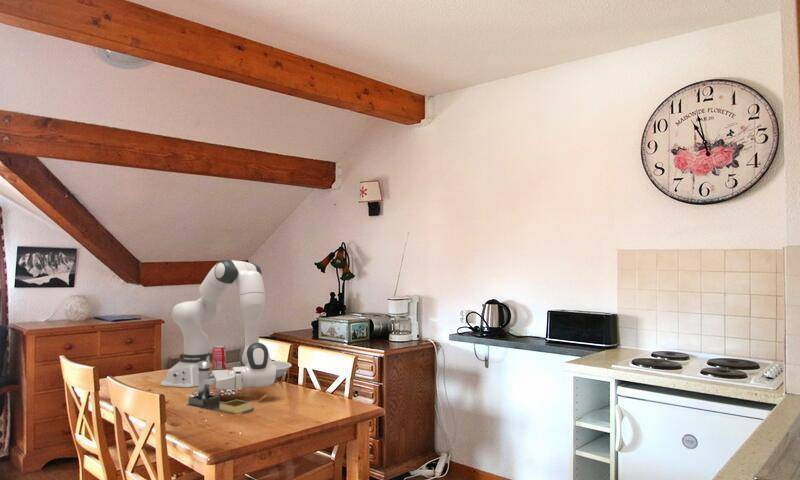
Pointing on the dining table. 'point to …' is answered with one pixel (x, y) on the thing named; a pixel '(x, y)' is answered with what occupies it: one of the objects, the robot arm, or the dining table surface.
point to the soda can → (219, 357)
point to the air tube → (203, 374)
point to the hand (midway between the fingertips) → (201, 380)
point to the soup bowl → (281, 367)
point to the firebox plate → (221, 405)
